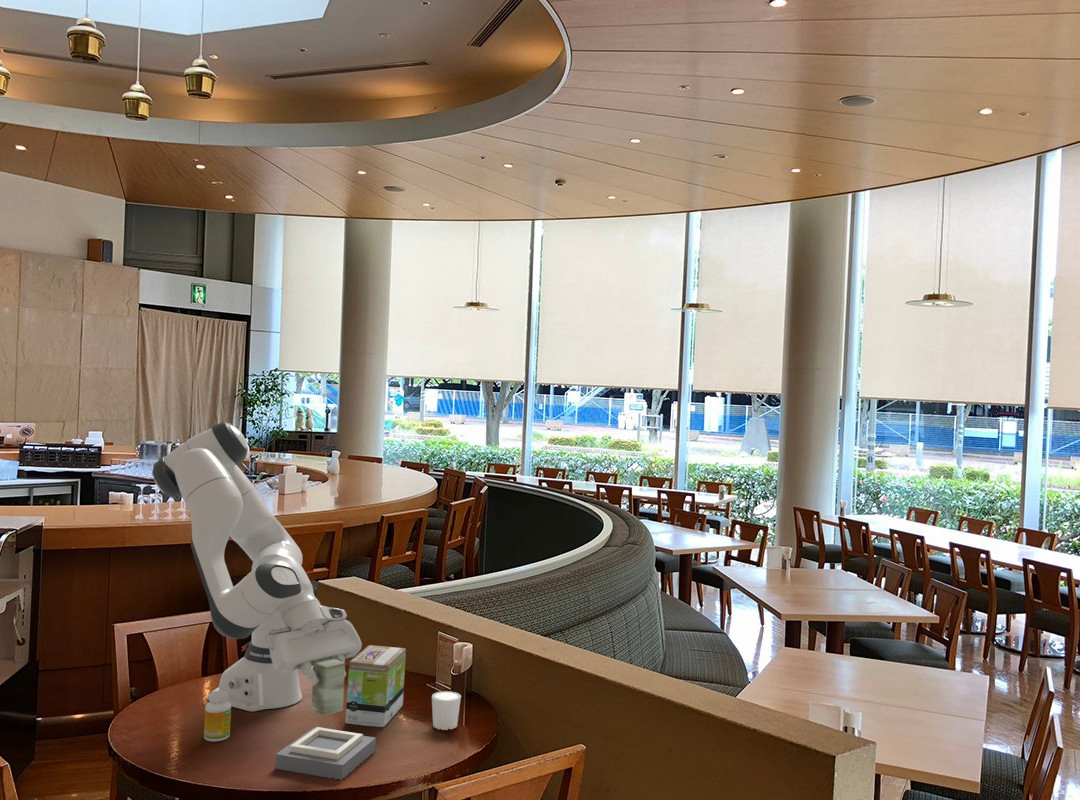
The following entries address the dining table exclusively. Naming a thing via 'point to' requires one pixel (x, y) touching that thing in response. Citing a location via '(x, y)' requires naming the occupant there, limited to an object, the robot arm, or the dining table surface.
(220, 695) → the supplement bottle
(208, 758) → the dining table surface
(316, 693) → the green block
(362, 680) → the tea box
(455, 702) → the white cup
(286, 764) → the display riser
